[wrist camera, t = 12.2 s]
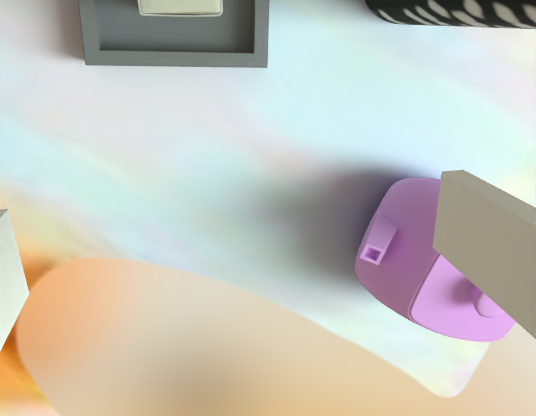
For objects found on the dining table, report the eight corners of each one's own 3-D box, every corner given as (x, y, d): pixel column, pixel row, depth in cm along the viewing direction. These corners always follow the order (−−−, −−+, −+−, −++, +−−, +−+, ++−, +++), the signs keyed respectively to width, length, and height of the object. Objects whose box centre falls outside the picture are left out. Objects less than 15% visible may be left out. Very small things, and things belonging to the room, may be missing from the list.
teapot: (521, 204, 48) (633, 264, 36) (461, 305, 51) (545, 389, 40) (352, 138, 42) (421, 185, 30) (297, 258, 45) (340, 342, 34)
